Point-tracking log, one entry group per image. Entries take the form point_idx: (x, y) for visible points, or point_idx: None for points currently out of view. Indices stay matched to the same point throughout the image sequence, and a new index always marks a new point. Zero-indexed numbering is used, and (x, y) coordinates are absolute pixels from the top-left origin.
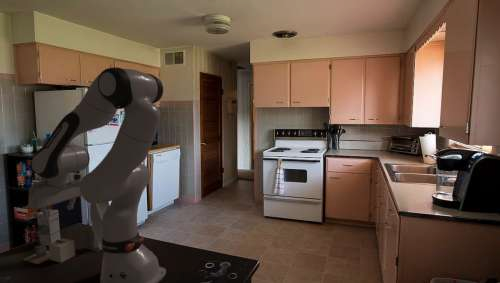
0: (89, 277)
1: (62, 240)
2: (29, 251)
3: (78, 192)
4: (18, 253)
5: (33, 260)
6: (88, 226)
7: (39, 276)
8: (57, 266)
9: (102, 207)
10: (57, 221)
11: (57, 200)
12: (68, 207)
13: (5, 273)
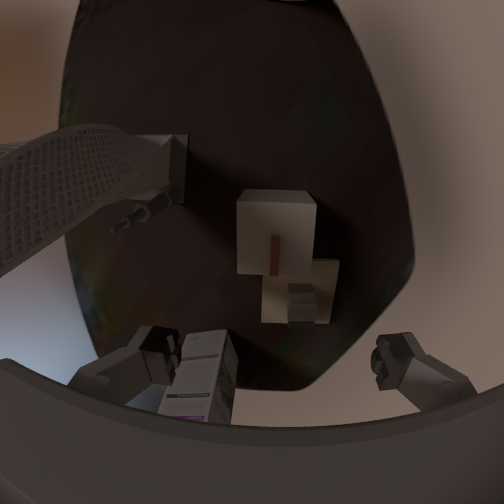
0: (341, 22)
1: (257, 257)
2: (276, 354)
3: (7, 405)
4: (295, 367)
5: (329, 289)
6: (134, 213)
7: (394, 180)
8: (331, 179)
9: (16, 143)
10: (174, 386)
11: (365, 454)
12: (171, 359)
13: (396, 294)
